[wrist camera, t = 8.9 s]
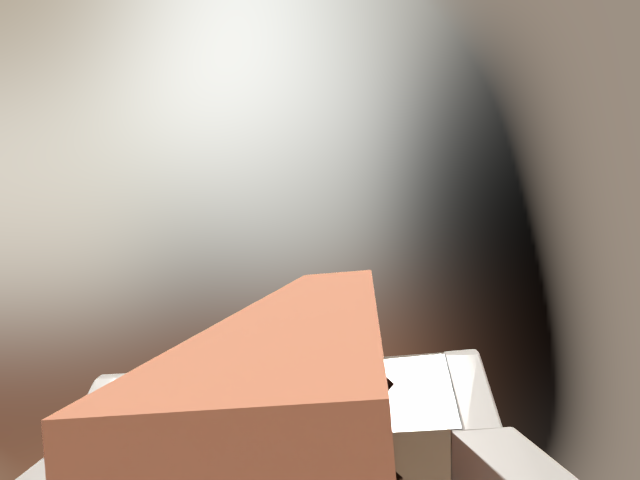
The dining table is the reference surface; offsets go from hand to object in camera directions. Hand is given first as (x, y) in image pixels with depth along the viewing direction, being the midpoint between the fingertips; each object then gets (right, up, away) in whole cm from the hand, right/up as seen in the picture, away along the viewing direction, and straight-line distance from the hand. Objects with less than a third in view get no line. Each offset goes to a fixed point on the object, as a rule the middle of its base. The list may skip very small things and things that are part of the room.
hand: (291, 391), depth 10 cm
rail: (+1, -2, +6) cm, 7 cm away
